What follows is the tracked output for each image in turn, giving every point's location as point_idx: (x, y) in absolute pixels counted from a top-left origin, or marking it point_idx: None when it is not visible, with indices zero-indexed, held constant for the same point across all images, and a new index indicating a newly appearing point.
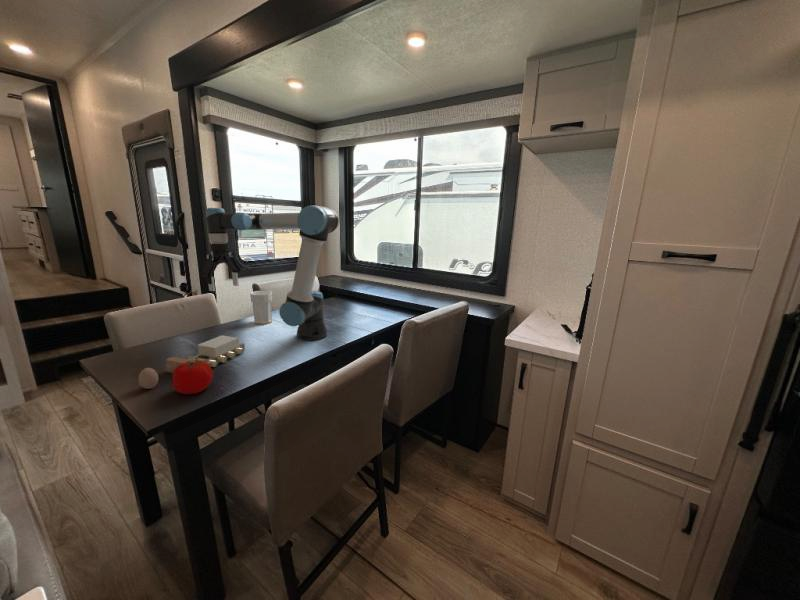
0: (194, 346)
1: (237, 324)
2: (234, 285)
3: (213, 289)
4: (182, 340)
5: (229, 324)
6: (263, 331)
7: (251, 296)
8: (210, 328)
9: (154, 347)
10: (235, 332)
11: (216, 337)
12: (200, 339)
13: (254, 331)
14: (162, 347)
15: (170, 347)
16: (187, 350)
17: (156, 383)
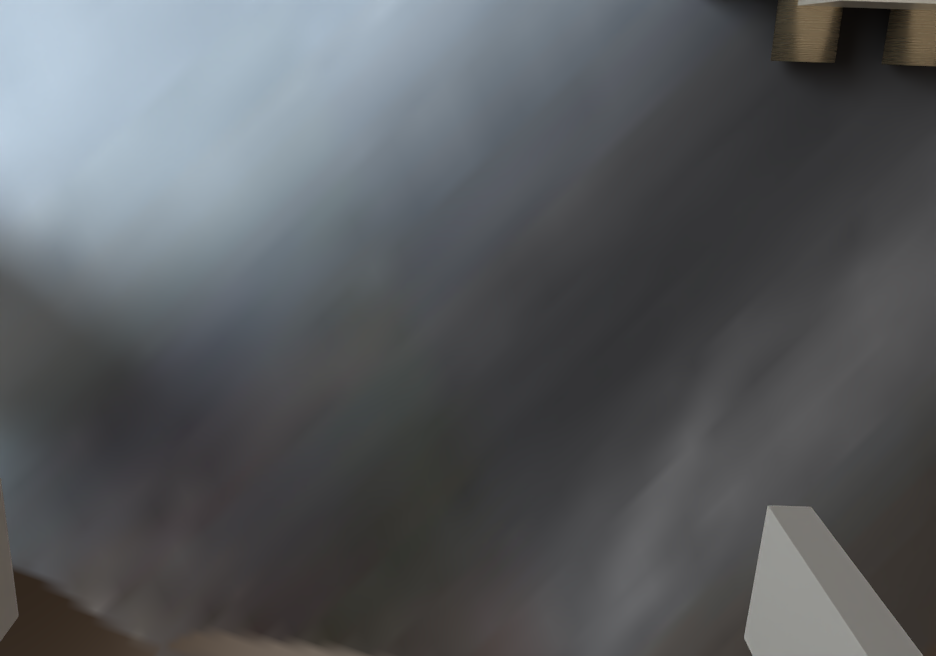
0: (752, 364)
1: (60, 479)
2: (11, 580)
3: (830, 534)
4: (652, 581)
5: (102, 552)
6: (108, 13)
7: None
8: (289, 621)
9: None
10: (281, 302)
11: (927, 3)
12: (580, 461)
13: (159, 122)
14: None
15: None
16: (853, 340)
17: None
